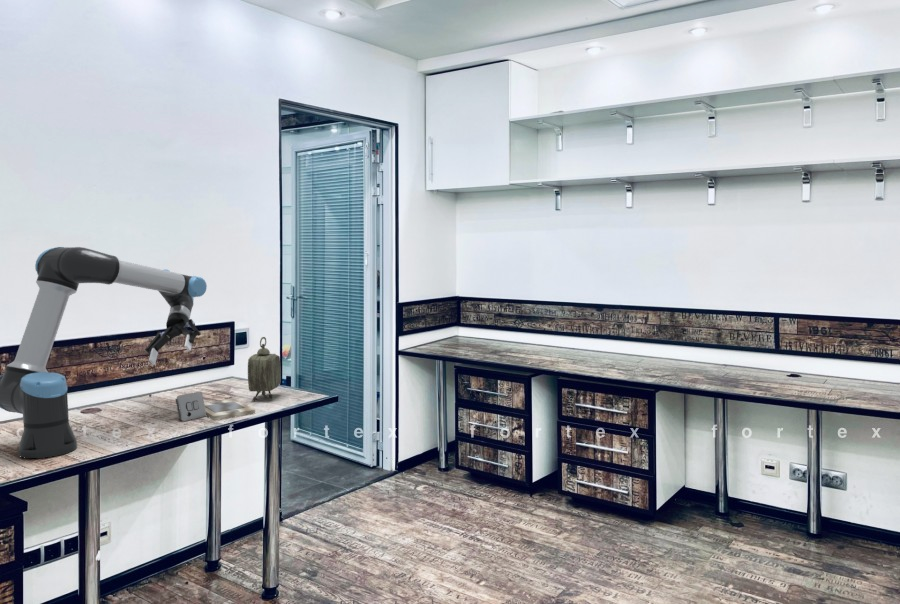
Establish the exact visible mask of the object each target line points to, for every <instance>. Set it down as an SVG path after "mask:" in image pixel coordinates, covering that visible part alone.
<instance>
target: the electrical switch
mask: <svg viewBox="0 0 900 604" xmlns="http://www.w3.org/2000/svg"><path fill="white" fill-rule="evenodd" d="M204 403H205V399H204V396H203V392H202V390H201V391H200V390H199V391H195V392H190V393H189V392H188V393H184V394H179V395H177V397H176V398H175V404H176V409H177V413H178V419H180V421H182V422H187V421H191V419H192V420H195V419H200V418H204V417H207V416H206V410H205V404H204Z"/></svg>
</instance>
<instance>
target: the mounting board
mask: <svg viewBox="0 0 900 604" xmlns="http://www.w3.org/2000/svg"><path fill="white" fill-rule="evenodd" d="M204 404H205V410H206V415H207V416H206V417H208V418H209V417H210V418H209V419H211V420H212V421H219V420H218V419H220V420H225V419H224V418H226V419H231V417H232V418H236V417H235V416H238V417H242V416H241V415H244V416H247V415H246V414H250V415H254V414H253V413H255V414H256V409H255V408H253V407H251V406H249V405H247V404H246V403H243V402H242V401H239V400H238V399H235V398H233V399H232V398H231V399H224V400H217V401H211V402H204Z"/></svg>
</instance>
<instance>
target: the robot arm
mask: <svg viewBox="0 0 900 604" xmlns="http://www.w3.org/2000/svg"><path fill="white" fill-rule="evenodd" d="M119 259H120V258H119V257H117V256H115V255H112V254H108V253H104V252H100V251H97V250H94V249H90V248H87V247H80V246H75V247H74V246H73V247H70V246H69V247H68V246H67V247H66V246H65V247H64V246H56V247H52V248H48V249H46V250H44V251H42V253H40V254H39V255H38V257H37V259H36V260H35V266H34V267H35V272H36V273H37V274H36V275H37V278H36V281H35V283H36V285H37V287H38V293H37V295H36V297H35V301H34V303H33V306H32V309H31V312H30V315H29V318H28V321H27V324H26V327H25V329H24V332H23V335H22V338H21V341H20V344H19V346H18V350H17V352H16V356H15V358H14V360H13V361H12V362H10V363H8V364H7V365H6V367H5V369H4V373H3V374H2V375H0V409H1V410H4V411H6V412H9V413H17V414H22V421H23V431H22V434H21V438H20V442H19V444H18V446H17V447H18V448H17V449H18V450H17V452H18V457H19V456H21V457H25V458H40V459H46V458H45V457H48V458H53V457H52V456H54V457H57V456H58V455H59V456H62V455H65V453H66V454H68V452H69V453H71V452H73V451H75V450H76V449H77V448H78V442H77V441H78V440H77V438H76V435H75V434H74V431H73V429H72V427H71V425H70V421H69V420H70V419H69V418H70V417H69V400H68V399H69V398H68V383H67V378H66V377H65V375H63V374H61V373H57V372H51V371H50V372H49V371H48V370H47V367H46V366H47V364H48V361H49V357H50V354H51V352H52V348H53V346H54V342H55V341H56V337H57V334H58V332H59V328H60V325H61V322H62V319H63V316H64V314H65V310H66V307H67V304H68V301H69V299H70V296H72V295H73V294H76V293H77V291H78V288H79V285H80V284H103V285H113V284H120V285H124V286H125V285H126V286H131V287H136V288H140V289H141V288H142V289H147V290H152V291H158V292H159V294H160V295H161V296H162V298H163V299H164V300H165V301H166V303H167V304H168V305H169V308H170V309H169V313H168V316H167V319H166V328H165V330H164V331H160V330H158V331H157V333H156V335H155V337H154V338H153V339H152V341H151V342H150V343H149V344H148V346H147V347H145V351H146V352H147V354H148V357H149V358H148V361H149V362H150V363H151V365H152V366H155V365H156V363H157V362H156V361H157V359H158V354H159V352H158V351H160V350H161V349H162V348H163V347H164V346H165V345H166V344H167V343H168V342H170V341H172V340H173V339H174V338H176V337H179V336H181V335H184V336H186V337H185V343H184V347H185V349H186V350H187V352H190V351H192V346H193V343H195V339H196V338H197V337H198V336H199V337H200V336H201V332H200V330H198V328H197V326H196V323H195V322H194V320H193V319H192V318H191V315H192V314H191V313H192V310H193V308H194V307H193V306H194V299H195V298H200V297H202V296H203V295H204V294H205V293H206V292H207V287H208V286H207V282H206V280H205V279H204V278H203V277H202V276H196V275H193V276H192V275H187V274H186V275H185V274H181V273H177V272H173V271H170V270H169V269H160V268H156V267H151V266H147V265H142V264H137V263H133V262H128V261H124V260H121V259H120V260H119ZM188 328H191V329H192V330H193V331H192V330H191V329H188ZM59 456H58V457H59ZM21 457H20V458H21ZM25 458H24V459H25Z"/></svg>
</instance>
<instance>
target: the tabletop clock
mask: <svg viewBox="0 0 900 604" xmlns="http://www.w3.org/2000/svg"><path fill="white" fill-rule="evenodd" d="M263 340H264V343H262V341H263ZM259 346H260V348H259V349H258V350H257V353H255V354H253V355H251V356H249V358H248V360H247V382H248V383H247V384H248V390H249V392H256V393H255V396H253V397H252V401H253V402H257V400H258V396H259V394H260V393H261V395H263V396H265V395H266V392H268V394H269V395H268V398H269V399H273V397H274V396H273V394H271V391H274V390H275V389H276V388H278V387H279V386H280V385H281V382H282V380H281V379H282V376H281V375H282V371H281V370H282V369H281V368H282V367H281V357H280V356H279V355H277V354H276V353H271V352H270V350H269V349H268V348H267V347H266V346H267V338H266V337H265V336H262V337H261V338H260V341H259Z"/></svg>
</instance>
